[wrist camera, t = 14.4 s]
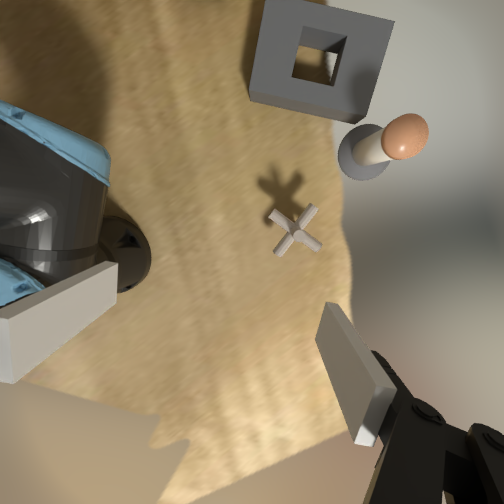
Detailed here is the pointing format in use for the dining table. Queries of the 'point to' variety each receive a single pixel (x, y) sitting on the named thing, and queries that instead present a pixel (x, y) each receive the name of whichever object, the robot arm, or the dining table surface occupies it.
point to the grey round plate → (346, 154)
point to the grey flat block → (323, 38)
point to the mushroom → (393, 141)
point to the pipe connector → (295, 230)
